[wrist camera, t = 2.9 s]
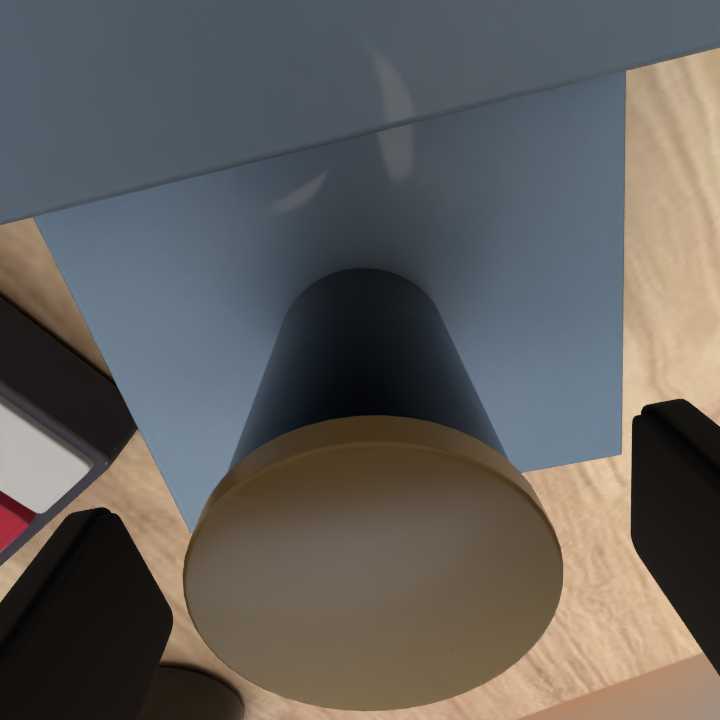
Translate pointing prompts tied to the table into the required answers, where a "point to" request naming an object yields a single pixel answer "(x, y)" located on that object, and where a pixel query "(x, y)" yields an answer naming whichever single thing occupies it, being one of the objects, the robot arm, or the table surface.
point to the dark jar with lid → (370, 515)
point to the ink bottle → (189, 698)
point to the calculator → (50, 428)
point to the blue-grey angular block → (335, 192)
